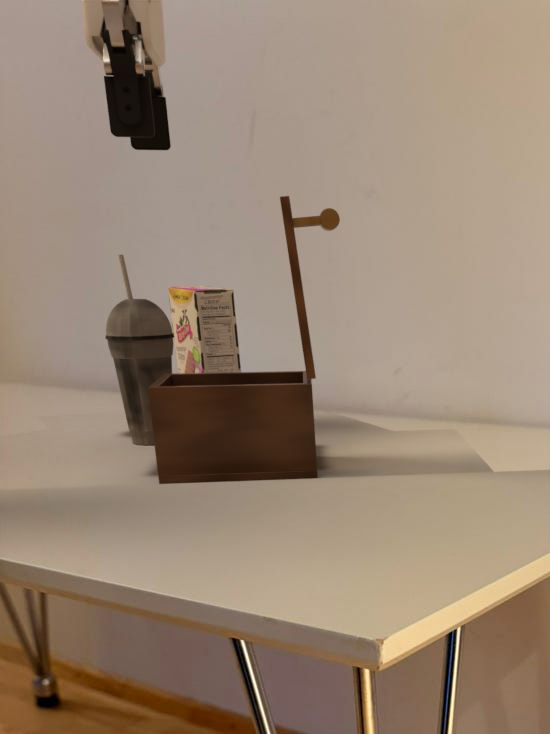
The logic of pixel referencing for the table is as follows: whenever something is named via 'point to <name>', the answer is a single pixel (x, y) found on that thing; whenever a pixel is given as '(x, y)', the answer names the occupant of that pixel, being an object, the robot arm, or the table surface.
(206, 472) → the chest
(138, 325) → the beverage cup
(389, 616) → the table surface
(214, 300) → the candy bar box
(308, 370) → the lid
